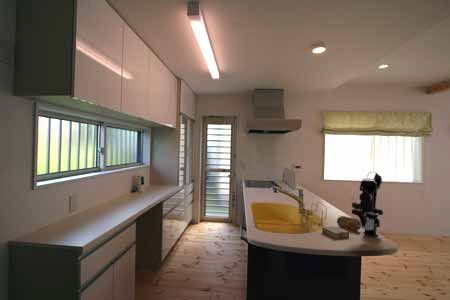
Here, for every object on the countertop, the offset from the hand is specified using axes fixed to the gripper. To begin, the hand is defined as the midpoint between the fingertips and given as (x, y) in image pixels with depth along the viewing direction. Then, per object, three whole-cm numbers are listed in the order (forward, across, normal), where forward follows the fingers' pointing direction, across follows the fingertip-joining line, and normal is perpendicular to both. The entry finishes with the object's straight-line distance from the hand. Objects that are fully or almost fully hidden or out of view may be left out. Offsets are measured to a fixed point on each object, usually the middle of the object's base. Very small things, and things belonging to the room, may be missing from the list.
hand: (366, 226), depth 141 cm
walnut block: (+10, +11, -13) cm, 20 cm away
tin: (+10, -8, -21) cm, 25 cm away
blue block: (+1, 0, 0) cm, 1 cm away
